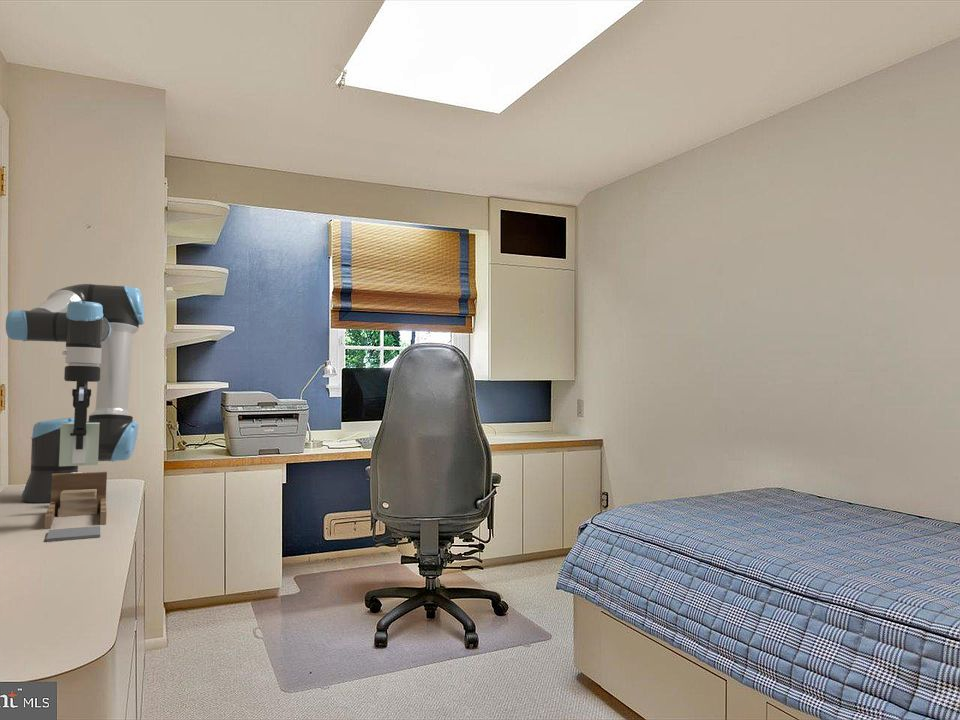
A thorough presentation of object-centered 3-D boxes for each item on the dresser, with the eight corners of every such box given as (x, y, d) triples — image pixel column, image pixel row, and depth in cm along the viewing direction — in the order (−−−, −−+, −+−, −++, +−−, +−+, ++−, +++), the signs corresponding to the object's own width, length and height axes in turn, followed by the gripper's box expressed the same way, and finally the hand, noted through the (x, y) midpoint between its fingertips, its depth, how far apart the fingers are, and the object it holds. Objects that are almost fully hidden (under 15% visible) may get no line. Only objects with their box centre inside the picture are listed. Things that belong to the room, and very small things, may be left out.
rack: (50, 512, 173) (52, 473, 173) (105, 509, 179) (106, 471, 179) (44, 528, 154) (46, 485, 154) (106, 524, 160) (107, 482, 161)
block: (59, 464, 161) (61, 422, 161) (97, 463, 165) (99, 422, 165) (58, 466, 158) (60, 424, 158) (97, 464, 162) (99, 423, 162)
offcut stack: (58, 513, 172) (59, 490, 173) (97, 510, 177) (98, 488, 177) (57, 516, 168) (58, 493, 168) (97, 514, 172) (98, 491, 172)
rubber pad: (49, 532, 150) (49, 529, 150) (100, 528, 155) (100, 525, 155) (46, 541, 142) (46, 538, 142) (100, 537, 147) (100, 534, 147)
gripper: (66, 365, 168) (62, 458, 167) (63, 364, 153) (58, 466, 152) (100, 366, 171) (97, 457, 171) (100, 365, 157) (96, 465, 156)
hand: (79, 461), depth 161 cm, fingers closed on block, 4 cm apart
